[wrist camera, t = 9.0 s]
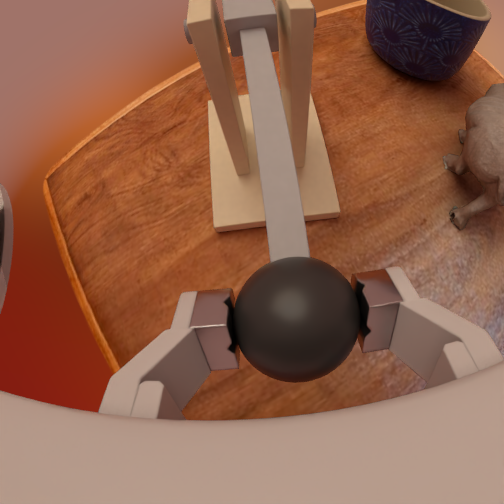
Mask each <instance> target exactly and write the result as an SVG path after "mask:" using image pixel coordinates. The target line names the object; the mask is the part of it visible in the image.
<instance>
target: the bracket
mask: <svg viewBox="0 0 504 504" xmlns="http://www.w3.org/2000/svg"><path fill="white" fill-rule="evenodd" d="M275 4H276V13H277V23H278V40H279V63H280V81H281V90H280V91H281V96H282V101H283V105H284V110H285V115H286V119H287V124H288V129H289V134H290V139H291V144H292V150H293V155H294V160H295V166H296V171H297V177H298V183H299V188H300V194H301V200H302V206H303V212H304V219H305V221H311V220H320V219H328V218H337V217H338V216H339V214H340V212H341V211H340V206H339V201H338V197H337V192H336V188H335V183H334V179H333V174H332V170H331V166H330V162H329V158H328V154H327V150H326V146H325V142H324V138H323V134H322V130H321V127H320V123H319V120H318V116H317V112H316V109H315V106H314V102H313V99H312V95H311V92H310V89H311V74H312V56H313V35H314V28H315V27H316V12H315V8H314V6H313V4H312V3H311V1H310V0H275ZM184 30H185V35H186V38H187V41H188V43H189V44H193V45H194V48H195V51H196V54H197V56H198V59H199V62H200V65H201V68H202V71H203V74H204V77H205V80H206V83H207V86H208V89H209V92H210V95H211V98H212V100H210V101H208V123H209V149H210V171H211V190H212V208H213V224H214V228H215V230H216V231H217V232H224V231H231V230H239V229H247V228H254V227H262V226H266V220H265V212H264V204H263V196H262V188H261V180H260V173H259V165H258V157H257V150H256V142H255V135H254V128H253V120H252V113H251V106H250V99H249V94H247V95H240V96H238V93H237V89H236V84H235V80H234V75H233V71H232V67H231V62H230V58H229V54H228V49H227V45H226V41H225V37H224V32H223V28H222V24H221V20H220V16H219V12H218V8H217V3H216V0H189V6H188V16H187V19H185V20H184Z"/></svg>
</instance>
